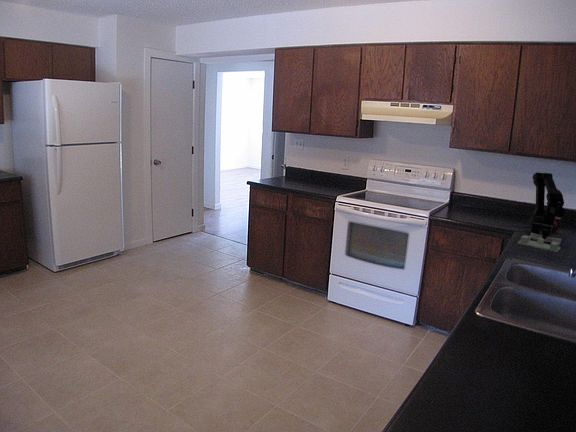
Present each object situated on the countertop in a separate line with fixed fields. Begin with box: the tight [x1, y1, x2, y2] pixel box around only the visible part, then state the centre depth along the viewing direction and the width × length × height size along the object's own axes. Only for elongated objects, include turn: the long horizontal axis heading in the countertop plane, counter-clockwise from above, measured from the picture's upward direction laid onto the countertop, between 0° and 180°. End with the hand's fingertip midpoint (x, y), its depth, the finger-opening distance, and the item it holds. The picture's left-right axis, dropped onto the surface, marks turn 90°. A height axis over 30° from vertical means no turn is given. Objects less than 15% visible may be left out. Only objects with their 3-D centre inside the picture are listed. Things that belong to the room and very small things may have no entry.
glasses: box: [529, 233, 562, 247], centre depth 273 cm, size 9×16×3 cm, turn 52°
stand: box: [517, 234, 562, 253], centre depth 261 cm, size 11×20×4 cm, turn 52°
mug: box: [551, 217, 562, 234], centre depth 299 cm, size 10×8×10 cm
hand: (545, 238), depth 275 cm, fingers open, 9 cm apart
